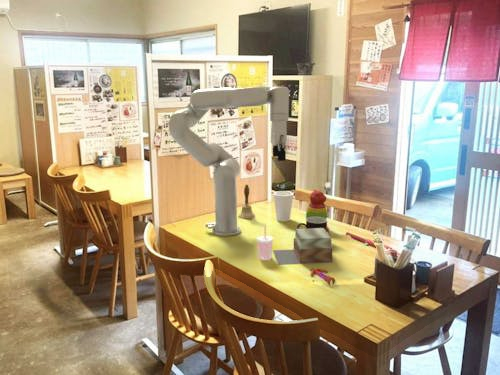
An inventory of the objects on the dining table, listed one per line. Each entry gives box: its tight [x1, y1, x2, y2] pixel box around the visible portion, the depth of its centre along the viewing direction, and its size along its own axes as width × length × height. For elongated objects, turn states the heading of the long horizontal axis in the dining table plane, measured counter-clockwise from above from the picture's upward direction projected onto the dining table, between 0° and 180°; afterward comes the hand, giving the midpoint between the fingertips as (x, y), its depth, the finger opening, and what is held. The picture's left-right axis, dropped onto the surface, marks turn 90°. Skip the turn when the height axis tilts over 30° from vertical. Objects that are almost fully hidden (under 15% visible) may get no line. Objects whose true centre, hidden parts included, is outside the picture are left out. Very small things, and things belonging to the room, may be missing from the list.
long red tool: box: [345, 231, 393, 250], centre depth 186 cm, size 24×2×5 cm
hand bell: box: [238, 184, 256, 220], centre depth 221 cm, size 8×8×16 cm
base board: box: [272, 248, 334, 266], centre depth 170 cm, size 20×14×1 cm
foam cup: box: [273, 190, 294, 223], centre depth 216 cm, size 10×9×13 cm
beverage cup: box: [256, 224, 274, 261], centre depth 168 cm, size 6×6×14 cm
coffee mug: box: [296, 217, 328, 230], centre depth 186 cm, size 12×9×10 cm
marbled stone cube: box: [293, 228, 333, 263], centre depth 170 cm, size 12×12×9 cm
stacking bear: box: [305, 189, 330, 233], centre depth 203 cm, size 11×10×18 cm
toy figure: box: [308, 267, 336, 286], centre depth 154 cm, size 8×12×3 cm
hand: (279, 158), depth 189 cm, fingers open, 9 cm apart
